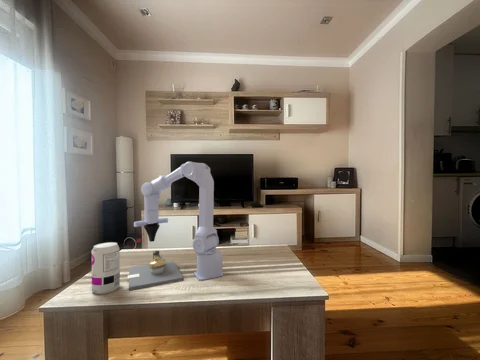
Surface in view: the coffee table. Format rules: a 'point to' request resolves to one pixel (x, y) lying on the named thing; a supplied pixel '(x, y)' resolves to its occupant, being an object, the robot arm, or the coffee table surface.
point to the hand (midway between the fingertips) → (151, 241)
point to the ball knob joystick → (156, 261)
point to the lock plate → (153, 275)
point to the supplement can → (105, 267)
